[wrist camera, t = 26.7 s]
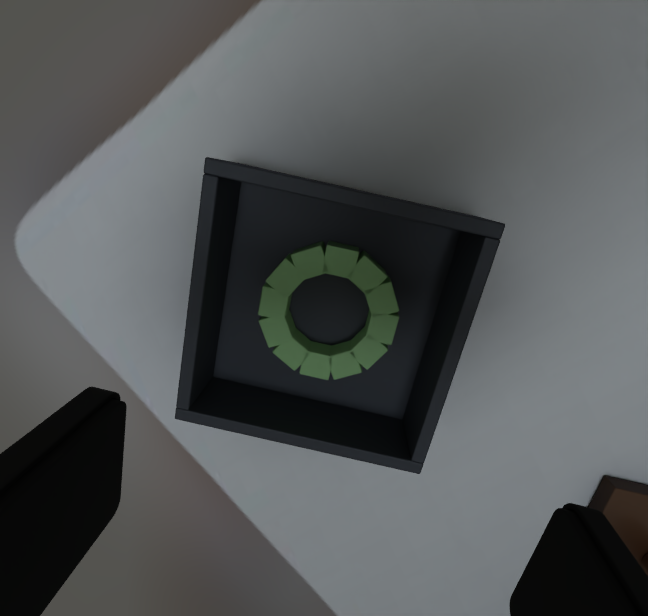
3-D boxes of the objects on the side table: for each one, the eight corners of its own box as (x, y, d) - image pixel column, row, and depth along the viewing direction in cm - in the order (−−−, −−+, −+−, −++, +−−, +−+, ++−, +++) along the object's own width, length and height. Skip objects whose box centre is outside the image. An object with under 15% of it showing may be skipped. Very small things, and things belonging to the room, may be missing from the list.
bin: (233, 162, 22) (204, 156, 18) (476, 216, 22) (506, 224, 18) (203, 380, 26) (174, 419, 22) (409, 426, 26) (420, 474, 22)
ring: (277, 228, 22) (271, 232, 21) (410, 258, 22) (414, 264, 21) (255, 351, 25) (249, 362, 23) (376, 379, 25) (378, 392, 23)
